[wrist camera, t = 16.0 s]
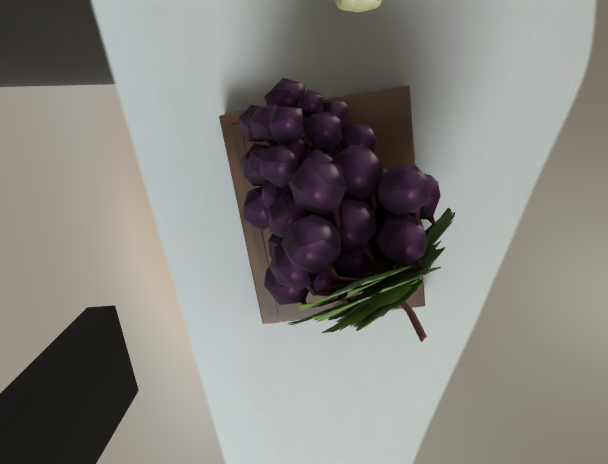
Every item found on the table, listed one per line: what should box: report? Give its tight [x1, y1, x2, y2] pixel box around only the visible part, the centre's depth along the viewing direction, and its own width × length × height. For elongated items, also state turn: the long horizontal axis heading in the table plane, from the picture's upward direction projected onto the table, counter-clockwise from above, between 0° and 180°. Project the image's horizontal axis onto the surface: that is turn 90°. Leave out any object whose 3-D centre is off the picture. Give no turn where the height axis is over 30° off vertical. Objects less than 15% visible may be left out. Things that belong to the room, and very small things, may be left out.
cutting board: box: [219, 86, 425, 324], centre depth 28 cm, size 14×11×2 cm
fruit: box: [239, 78, 455, 342], centre depth 22 cm, size 10×11×15 cm
